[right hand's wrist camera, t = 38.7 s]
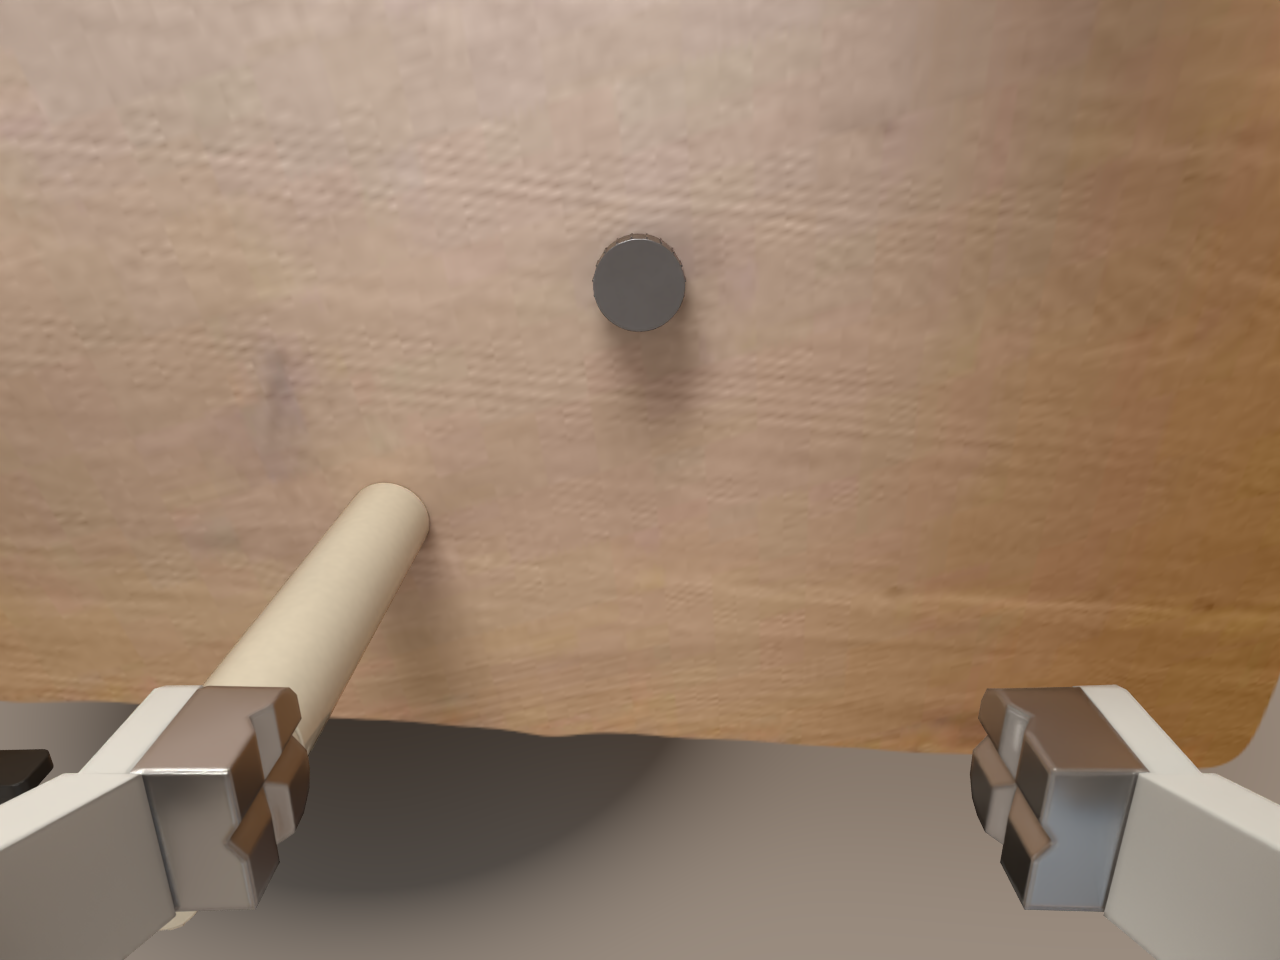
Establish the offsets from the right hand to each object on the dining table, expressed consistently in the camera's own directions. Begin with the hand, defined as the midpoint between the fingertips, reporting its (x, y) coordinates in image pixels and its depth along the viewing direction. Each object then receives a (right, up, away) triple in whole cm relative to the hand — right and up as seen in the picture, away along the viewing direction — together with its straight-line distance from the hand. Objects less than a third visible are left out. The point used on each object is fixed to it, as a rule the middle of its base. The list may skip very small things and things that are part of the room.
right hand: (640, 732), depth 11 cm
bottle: (-14, +1, +39) cm, 41 cm away
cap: (0, +12, +32) cm, 35 cm away
